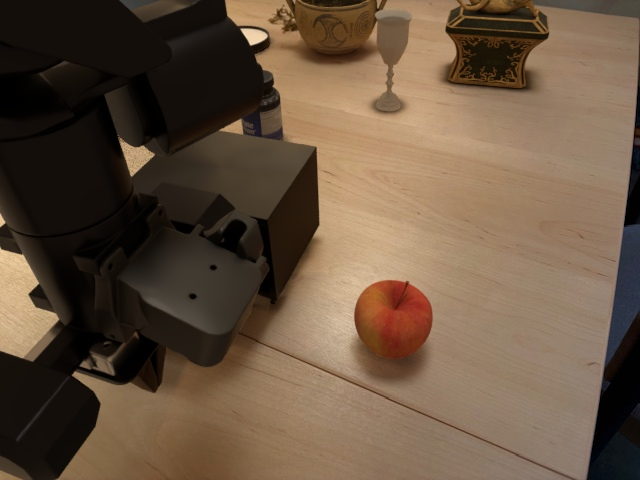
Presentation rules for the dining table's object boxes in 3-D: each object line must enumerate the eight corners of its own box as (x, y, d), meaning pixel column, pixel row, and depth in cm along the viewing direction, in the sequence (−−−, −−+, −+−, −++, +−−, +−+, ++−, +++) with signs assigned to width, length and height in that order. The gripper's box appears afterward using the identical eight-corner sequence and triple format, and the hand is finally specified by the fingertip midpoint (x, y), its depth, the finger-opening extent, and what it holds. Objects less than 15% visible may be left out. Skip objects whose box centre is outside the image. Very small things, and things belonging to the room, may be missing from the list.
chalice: (411, 110, 89) (420, 18, 79) (380, 116, 87) (385, 24, 77) (395, 94, 93) (401, 6, 83) (365, 100, 92) (368, 11, 82)
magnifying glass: (182, 27, 121) (180, 17, 120) (278, 36, 115) (278, 26, 114) (153, 47, 113) (151, 37, 111) (255, 59, 107) (254, 48, 105)
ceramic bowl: (275, 63, 105) (267, -18, 95) (290, 32, 117) (285, -42, 107) (387, 67, 102) (392, -16, 92) (391, 34, 114) (395, -42, 104)
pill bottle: (238, 141, 83) (227, 74, 75) (271, 129, 85) (264, 63, 78) (256, 158, 79) (248, 89, 71) (291, 145, 81) (286, 77, 74)
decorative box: (533, 69, 99) (562, -47, 86) (534, 92, 92) (566, -31, 79) (426, 61, 103) (438, -51, 90) (420, 82, 96) (432, -36, 83)
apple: (338, 345, 53) (337, 290, 47) (385, 305, 56) (390, 250, 51) (395, 389, 49) (402, 335, 43) (442, 343, 52) (453, 288, 47)
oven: (279, 314, 56) (267, 219, 47) (150, 280, 60) (118, 188, 52) (320, 237, 65) (316, 146, 56) (206, 212, 69) (186, 124, 61)
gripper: (79, 426, 16) (185, 588, 26) (304, 124, 29) (315, 312, 39) (-177, 332, 19) (9, 511, 29) (132, 98, 32) (184, 279, 42)
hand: (152, 386), depth 35 cm, fingers closed
